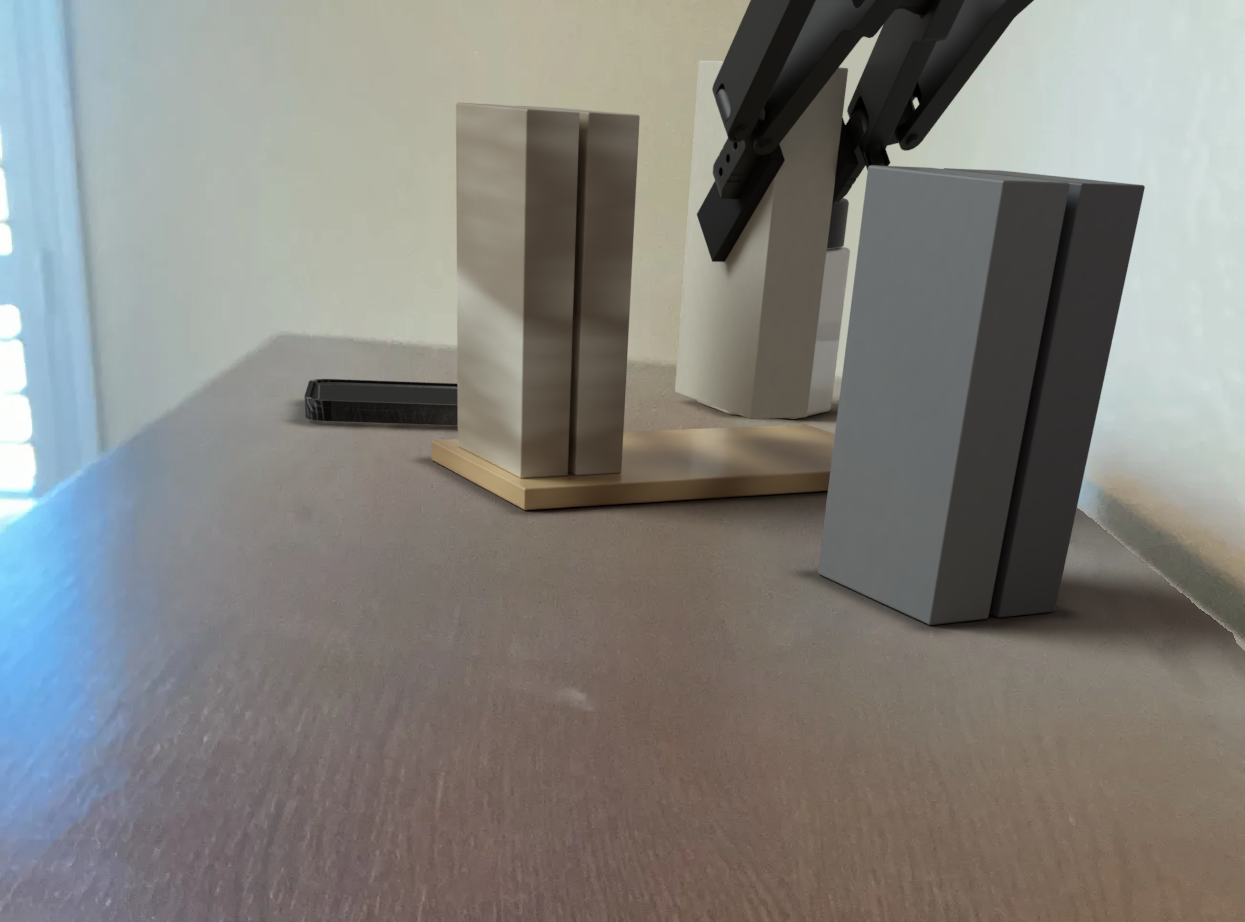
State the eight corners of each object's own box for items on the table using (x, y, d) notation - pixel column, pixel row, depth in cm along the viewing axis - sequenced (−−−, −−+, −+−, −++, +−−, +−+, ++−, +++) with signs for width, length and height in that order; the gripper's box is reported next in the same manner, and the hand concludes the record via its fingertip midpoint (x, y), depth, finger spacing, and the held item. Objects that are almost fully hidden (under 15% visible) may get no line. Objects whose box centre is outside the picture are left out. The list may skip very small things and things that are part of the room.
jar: (829, 402, 104) (853, 196, 97) (832, 423, 97) (859, 203, 91) (698, 393, 105) (714, 187, 98) (692, 413, 98) (708, 194, 91)
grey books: (936, 563, 69) (1001, 171, 60) (1055, 612, 63) (1146, 185, 54) (816, 574, 66) (867, 165, 58) (929, 626, 60) (1003, 180, 52)
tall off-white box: (728, 391, 85) (758, 65, 77) (807, 418, 80) (848, 68, 71) (674, 392, 84) (698, 60, 75) (750, 419, 78) (786, 63, 70)
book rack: (803, 442, 91) (840, 123, 82) (925, 485, 83) (981, 133, 74) (430, 460, 82) (425, 100, 73) (524, 511, 73) (531, 110, 64)
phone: (309, 378, 94) (552, 386, 96) (311, 398, 95) (551, 406, 96) (303, 400, 88) (563, 408, 89) (304, 422, 88) (562, 429, 90)
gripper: (875, -172, 53) (624, 304, 74) (1219, -117, 60) (899, 305, 81) (810, -354, 54) (580, 168, 75) (1157, -280, 61) (856, 180, 82)
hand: (746, 238), depth 78 cm, fingers closed on tall off-white box, 3 cm apart
